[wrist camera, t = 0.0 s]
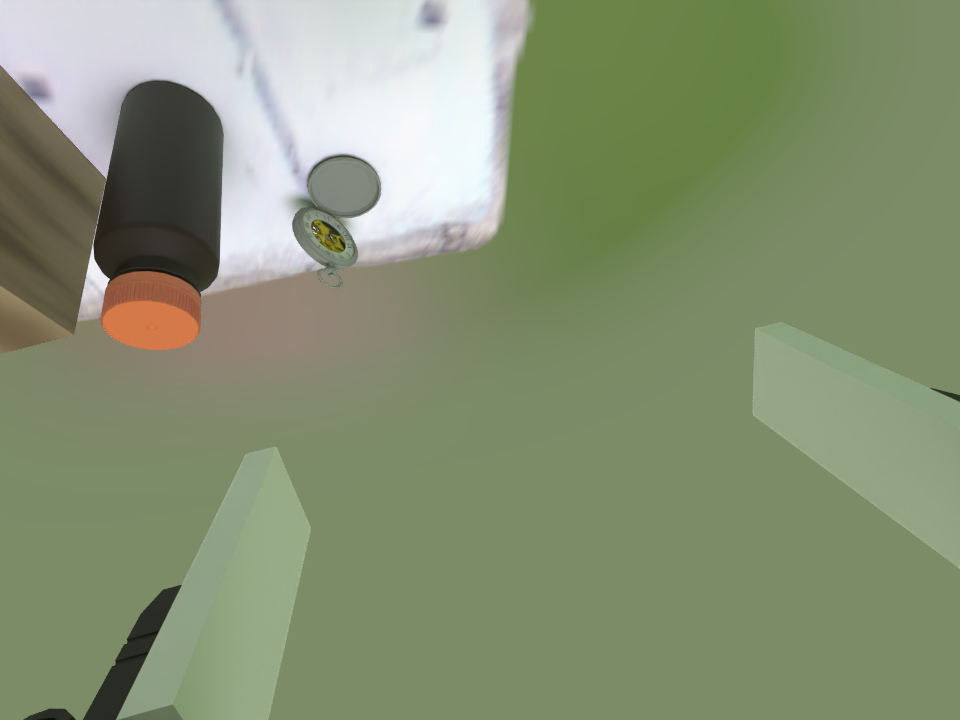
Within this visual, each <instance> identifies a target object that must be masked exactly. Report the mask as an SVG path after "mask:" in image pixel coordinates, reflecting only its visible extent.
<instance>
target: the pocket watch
mask: <svg viewBox="0 0 960 720" xmlns="http://www.w3.org/2000/svg"><path fill="white" fill-rule="evenodd" d="M308 192H309V195H310V198H311V200H312V202H313V203H314V205H315V206H316V207H315V208H312V207H306V208H302V209H300V210H299V211H298V212H297V213H296V214H295V217H294V219H293V222H292V226H293V232H294V235H295V237H296V239H297V241H298V243H299V244H300V246H301V247H302V248H303V249H304V250H305V251H306V253H307V254H308V255H310V256H311V257H312V258H313V259H314V260H315V261H317V262H319V263H320V264H322V265H324V266H326V268H325V269H321V270H319V271H318V273H317V275H318V278H319V280H320V281H321V282H322V283H323V284H324V285H326V286H328V287H330V288H333V289H337V288H338V289H339V288H341V287H342V285H343V282H342V279H341V278H340V276H339V275H338V274H337V271H336V270H344V269H347V268H349V267H351V266H352V265H353V264H354V263H355V262H356V260H357V258H358V251H357V247H356V244H355V242H354V240H353V238H352V236H351V235H350V233H349V232H348V230H347V229H346V228H345V227H344V226H343V225H342V224H341V223H340V222H339V221H338V220H337V219H335V217H338V218H353V217H357V216H361V215H363V214H365V213H367V212H369V211H370V210H371V209H372V208H373V207H374V206H375V205H376V204H377V202H378V201H379V198H380V195H381V183H380V181H379V178H378V176H377V174H376V172H375V171H374V170H373V169H372V168H371V167H370V166H369V165H367V164H366V163H364V162H362V161H360V160H358V159H354V158H350V157H337V158H332V159H329V160H326V161H324V162H322V163H321V164H319V165H318V166H317V167H316V168H315V169H314V170H313V171H312V173H311V175H310V177H309V181H308ZM313 226H314V227H315V228H316V230H317V229H318V230H319V231H316V230H315V229H313ZM317 227H319V228H320V229H319V228H317ZM312 230H313V231H312ZM314 231H315V233H317V234H314V233H313V232H314ZM330 235H331V236H332V238H333V239H332V238H331V237H330ZM317 238H319V239H320V240H319V239H317ZM318 240H319V241H318ZM335 241H336V242H335ZM323 271H325V273H326V274H328V276H329V278H334V276H336V277H338V279H339V281H340V285H338V286H331V285H329V284H327V283H326V282H324V281H323V280H322V278H321V276H320V274H321V273H322V272H323Z"/></svg>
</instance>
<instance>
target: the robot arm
mask: <svg viewBox="0 0 960 720" xmlns="http://www.w3.org/2000/svg"><path fill="white" fill-rule="evenodd" d="M752 414H753V415H754V416H755V417H756V418H758V419H759V420H760V421H762V422H763V423H764V424H766V425H767V426H768V427H770V428H771V429H772V430H774V431H775V432H776V433H778V434H779V435H780V436H782V437H783V438H785V439H786V440H787V441H789V442H790V443H791V444H793V445H794V446H795V447H797V448H798V449H799V450H801V451H802V452H803V453H805V454H806V455H807V456H809V457H810V458H811V459H813V460H814V461H816V462H817V463H818V464H820V465H821V466H822V467H824V468H825V469H826V470H828V471H829V472H830V473H832V474H833V475H834V476H836V477H837V478H838V479H840V480H841V481H842V482H844V483H845V484H847V485H848V486H849V487H851V488H852V489H853V490H855V491H856V492H858V493H859V494H860V495H862V496H863V497H864V498H866V499H867V500H868V501H870V502H871V503H872V504H874V505H875V506H876V507H877V508H879V509H880V510H882V511H883V512H884V513H886V514H887V515H888V516H890V517H891V518H892V519H894V520H895V521H896V522H898V523H899V524H901V525H902V526H903V527H905V528H906V529H907V530H908V531H910V532H911V533H913V534H914V535H915V536H917V537H918V538H919V539H921V540H922V541H923V542H925V543H926V544H927V545H929V546H930V547H931V548H933V549H934V550H935V551H937V552H938V553H939V554H941V555H942V556H943V557H945V558H946V559H948V560H949V561H950V562H952V563H953V564H954V565H956V566H957V567H958V568H960V395H957V394H953V393H948V392H945V391H941V390H937V389H932V388H927V387H925V386H923V385H920V384H918V383H916V382H914V381H912V380H909V379H907V378H905V377H903V376H901V375H898V374H896V373H894V372H891V371H889V370H887V369H885V368H882V367H880V366H878V365H876V364H874V363H871V362H869V361H867V360H865V359H862V358H860V357H858V356H856V355H854V354H851V353H849V352H847V351H845V350H842V349H840V348H838V347H836V346H833V345H831V344H829V343H827V342H824V341H822V340H820V339H818V338H816V337H813V336H811V335H809V334H807V333H804V332H802V331H800V330H797V329H795V328H793V327H791V326H788V325H786V324H784V323H782V322H780V323H776V324H771V325H767V326H763V327H759V328H756V329H755V347H754V380H753V413H752ZM310 530H311V528H310V525H309V523H308V521H307V518H306V516H305V514H304V511H303V509H302V507H301V504H300V502H299V500H298V497H297V495H296V492H295V490H294V488H293V485H292V483H291V481H290V478H289V476H288V474H287V471H286V469H285V466H284V464H283V462H282V460H281V457H280V455H279V452H278V450H277V448H276V447H272V448H268V449H264V450H260V451H256V452H252V453H248V454H246V455H245V457H244V459H243V461H242V463H241V465H240V468H239V470H238V472H237V474H236V476H235V478H234V480H233V482H232V484H231V486H230V488H229V490H228V492H227V494H226V496H225V498H224V500H223V503H222V504H221V506H220V508H219V510H218V512H217V515H216V517H215V519H214V521H213V523H212V525H211V527H210V529H209V531H208V533H207V535H206V538H205V539H204V541H203V543H202V545H201V547H200V549H199V551H198V553H197V555H196V558H195V560H194V561H193V564H192V566H191V568H190V570H189V572H188V574H187V576H186V578H185V580H184V582H183V584H182V585H179V586H176V587H172V588H168V589H164V590H162V592H161V593H160V594H159V595H158V596H157V597H156V598H155V599H154V600H153V601H152V602H151V604H150V605H149V606H148V607H147V608H146V609H145V610H144V611H143V612H142V613H141V615H140V617H139V618H138V620H137V622H136V624H135V626H134V627H133V629H132V631H131V633H130V635H129V637H128V638H127V641H128V642H127V644H124V646H123V647H122V649H121V651H120V653H119V655H118V657H117V658H116V660H115V661H116V665H115V666H112V668H111V669H110V671H109V673H108V675H107V677H106V679H105V681H104V682H103V684H102V686H101V688H100V689H99V691H98V693H97V695H96V697H95V699H94V701H93V702H92V704H91V706H90V708H89V710H88V711H87V713H86V715H85V717H84V719H83V720H268V719H269V714H270V710H271V705H272V701H273V696H274V692H275V687H276V683H277V678H278V674H279V669H280V665H281V660H282V656H283V651H284V647H285V642H286V637H287V633H288V629H289V624H290V620H291V615H292V611H293V606H294V602H295V597H296V593H297V588H298V584H299V579H300V575H301V570H302V566H303V562H304V557H305V552H306V548H307V544H308V539H309V535H310ZM24 720H75V718H74V717H73V716H72V715H71V714H70V713H69V712H68V711H67V710H66V709H48V710H45V711H42V712H39V713H36V714H34V715H31V716H29V717H27V718H25V719H24Z"/></svg>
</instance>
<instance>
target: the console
mask: <svg viewBox="0 0 960 720" xmlns="http://www.w3.org/2000/svg"><path fill="white" fill-rule="evenodd" d="M105 181H106V179H105V178H104V177H103V176H102V174H101V173H100V172H99V171H98V170H97V169H96V168H95V167H94V166H93V165H92V164H91V163H90V162H89V161H88V159H87V158H86V157H85V156H84V155H83V154H82V153H81V152H80V151H79V150H78V149H77V148H76V147H75V145H74V144H73V143H72V142H71V141H70V140H69V139H68V138H67V137H66V136H65V135H64V134H63V133H62V132H61V130H60V129H59V128H58V127H57V126H56V125H55V124H54V123H53V122H52V121H51V120H50V119H49V118H48V117H47V115H46V114H45V113H44V112H43V111H42V110H41V109H40V108H39V107H38V106H37V105H36V104H35V103H34V101H33V100H32V99H31V98H30V97H29V96H28V95H27V94H26V93H25V92H24V91H23V90H22V89H21V88H20V86H19V85H18V84H17V83H16V82H15V81H14V80H13V79H12V78H11V77H10V76H9V75H8V74H7V73H6V71H5V70H4V69H3V68H2V67H1V66H0V354H2V353H6V352H9V351H13V350H18V349H21V348H25V347H29V346H33V345H37V344H41V343H45V342H48V341H52V340H56V339H60V338H64V337H67V336H71V335H74V332H75V327H76V322H77V317H78V313H79V308H80V303H81V298H82V293H83V288H84V283H85V278H86V273H87V269H88V264H89V259H90V254H91V249H92V244H93V239H94V234H95V229H96V225H97V220H98V215H99V210H100V205H101V200H102V195H103V190H104V185H105Z"/></svg>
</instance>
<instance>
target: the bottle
mask: <svg viewBox="0 0 960 720" xmlns="http://www.w3.org/2000/svg"><path fill="white" fill-rule="evenodd" d="M222 162H223V130H222V126H221V122H220V119H219V118H218V116H217V115H216V113H215V111H214V110H213V108H212V107H211V106H210V105H209V104H208V103H207V102H206V101H205V100H204V99H203V98H202V97H201V96H199V95H197V94H196V93H194V92H192V91H190V90H189V89H187V88H185V87H182V86H179V85H175V84H172V83H168V82H150V83H146V84H142V85H139V86H137V87H136V88H135V89H133V90H132V91H131V92H129V93H128V94H127V96H126V98H125V100H124V102H123V104H122V107H121V111H120V116H119V121H118V126H117V131H116V136H115V141H114V146H113V151H112V156H111V161H110V165H109V170H108V175H107V180H106V185H105V190H104V195H103V200H102V205H101V210H100V215H99V220H98V224H97V229H96V234H95V239H94V259H95V261H96V263H97V264H98V266H99V268H100V269H101V271H102V272H103V274H104V275H106V276H107V277H108V278H109V279H110V280H109V282H108V286H107V288H106V290H105V296H104V302H103V308H102V313H101V325H103V327H104V330H106V332H107V333H108V334H109V335H110V336H112V337H113V338H115V340H118V341H120V342H122V343H124V344H127V345H129V346H133V347H137V348H142V349H152V350H166V349H173V348H177V347H181V346H184V345H186V344H188V343H189V342H191V341H193V340H194V339H195V337H197V335H198V333H199V331H200V322H201V321H200V320H201V294H200V292H201V291H203V290H205V289H206V288H208V287H209V286H210V285H211V284H212V282H213V281H214V280H215V279H216V277H217V275H218V269H219V263H220V230H221V196H222Z"/></svg>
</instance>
